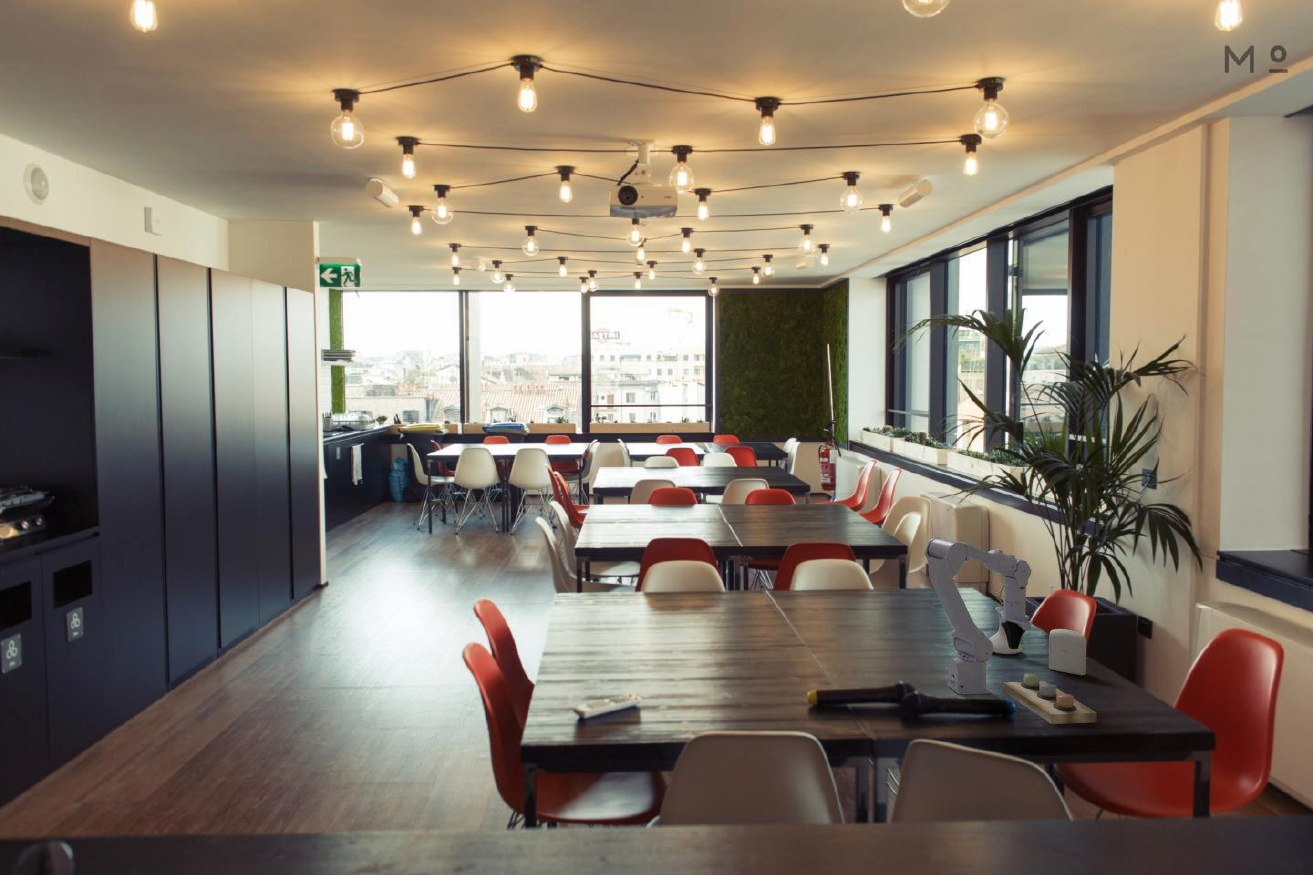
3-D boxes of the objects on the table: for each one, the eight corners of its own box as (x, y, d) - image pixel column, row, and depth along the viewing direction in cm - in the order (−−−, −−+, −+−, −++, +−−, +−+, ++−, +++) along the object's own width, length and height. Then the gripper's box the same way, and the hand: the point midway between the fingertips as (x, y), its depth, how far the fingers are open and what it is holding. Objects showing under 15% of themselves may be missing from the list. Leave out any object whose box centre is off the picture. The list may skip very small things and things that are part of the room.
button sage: (1028, 686, 238) (1028, 678, 238) (1020, 681, 242) (1021, 673, 242) (1042, 686, 239) (1042, 677, 238) (1034, 681, 243) (1034, 672, 242)
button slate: (1044, 697, 230) (1044, 688, 230) (1036, 692, 234) (1036, 683, 234) (1059, 696, 231) (1059, 687, 231) (1050, 691, 235) (1050, 682, 235)
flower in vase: (1025, 658, 273) (1027, 578, 272) (986, 656, 275) (988, 576, 274) (1017, 646, 286) (1019, 569, 284) (980, 644, 288) (981, 568, 287)
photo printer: (1046, 669, 263) (1047, 628, 262) (1051, 665, 266) (1052, 625, 265) (1082, 677, 256) (1084, 634, 255) (1087, 673, 259) (1088, 631, 258)
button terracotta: (1061, 708, 222) (1062, 699, 222) (1053, 702, 226) (1053, 693, 226) (1076, 707, 223) (1077, 698, 223) (1067, 702, 227) (1068, 692, 227)
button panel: (1050, 723, 220) (1051, 712, 220) (1003, 690, 244) (1003, 680, 244) (1096, 722, 221) (1096, 711, 221) (1044, 689, 245) (1044, 679, 245)
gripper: (1042, 606, 242) (1040, 655, 243) (1015, 594, 257) (1013, 640, 258) (1017, 607, 242) (1016, 656, 242) (991, 595, 256) (990, 641, 257)
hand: (1013, 648), depth 250 cm, fingers closed
